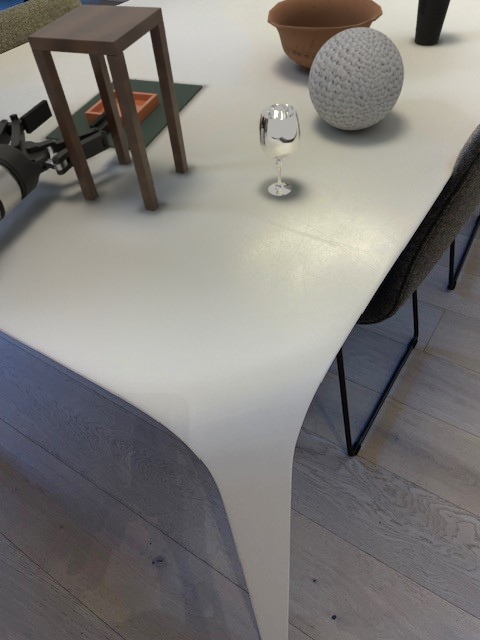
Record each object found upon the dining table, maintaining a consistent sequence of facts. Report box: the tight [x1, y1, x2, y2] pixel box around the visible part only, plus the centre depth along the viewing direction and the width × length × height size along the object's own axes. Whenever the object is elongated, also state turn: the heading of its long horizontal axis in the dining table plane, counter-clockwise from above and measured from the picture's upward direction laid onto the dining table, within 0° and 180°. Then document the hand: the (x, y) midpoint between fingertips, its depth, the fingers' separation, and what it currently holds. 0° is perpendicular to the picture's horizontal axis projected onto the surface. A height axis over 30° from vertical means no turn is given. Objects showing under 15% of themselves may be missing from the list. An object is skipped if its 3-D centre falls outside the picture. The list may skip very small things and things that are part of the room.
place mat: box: [45, 78, 203, 151], centre depth 95 cm, size 20×26×1 cm
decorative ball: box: [308, 27, 405, 131], centre depth 80 cm, size 15×15×15 cm
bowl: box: [267, 0, 384, 75], centre depth 98 cm, size 22×22×11 cm
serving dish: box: [85, 90, 159, 127], centre depth 89 cm, size 10×22×2 cm, turn 159°
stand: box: [26, 4, 189, 212], centre depth 69 cm, size 12×12×23 cm
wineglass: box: [257, 103, 301, 197], centre depth 69 cm, size 6×6×12 cm
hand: (80, 111), depth 83 cm, fingers open, 12 cm apart
